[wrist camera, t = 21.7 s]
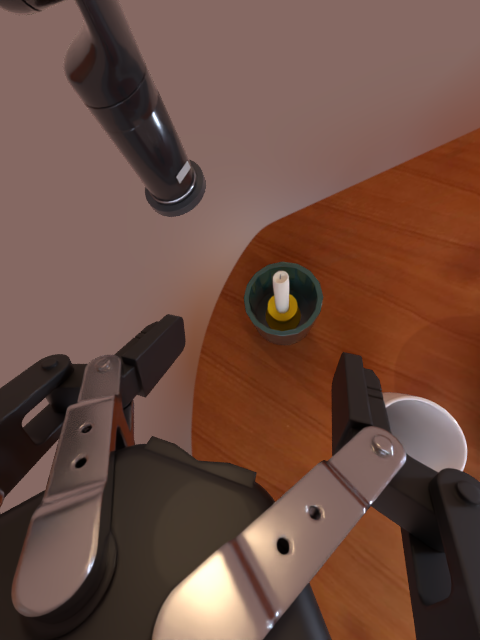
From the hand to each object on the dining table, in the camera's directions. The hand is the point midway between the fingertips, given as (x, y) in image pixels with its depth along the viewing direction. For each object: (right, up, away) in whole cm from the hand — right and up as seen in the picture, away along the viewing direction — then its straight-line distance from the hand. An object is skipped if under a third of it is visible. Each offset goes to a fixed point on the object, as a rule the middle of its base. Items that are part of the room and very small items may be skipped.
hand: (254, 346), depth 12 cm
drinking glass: (+16, -11, +21) cm, 28 cm away
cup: (+6, +2, +26) cm, 26 cm away
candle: (+6, +2, +25) cm, 26 cm away
